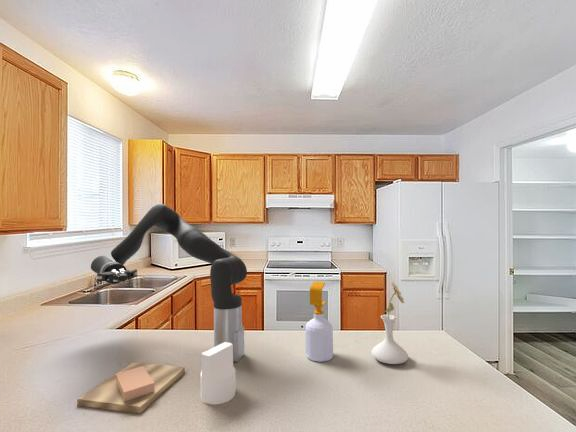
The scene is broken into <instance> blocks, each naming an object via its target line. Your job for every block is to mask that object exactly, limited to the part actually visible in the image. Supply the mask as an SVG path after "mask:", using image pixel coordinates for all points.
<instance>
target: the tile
mask: <svg viewBox="0 0 576 432" xmlns="http://www.w3.org/2000/svg"><path fill="white" fill-rule="evenodd" d="M115 374H116V384H117V386H118V388H119V391H120V393H121V395H122V398H123V400H124V402H127V401H130V400H133V399H136V398H139V397H142V396H145V395H148V394H151V393H154V381H153V380H152V378H151V377H150V375H149V374H148V372H147V371H146V369H145V368H144V366H141V367H137V368H134V369H130V370H127V371H123V372H120V373H118V372H116V373H115Z"/></svg>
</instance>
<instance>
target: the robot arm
mask: <svg viewBox="0 0 576 432" xmlns="http://www.w3.org/2000/svg"><path fill="white" fill-rule="evenodd" d="M154 226H155V227H156V228H158V229H161V230H162V231H164V232H166V233H169V234H170V235H171V236H173V237H174V238H175V239H176V242H177V244H178V245H179V247H180V248H181V249H182V250H183V251H185V252H186V253H187V254H188V255H190V256H191V257H192V258H194V259H197V260H200V261H203V262H206V263H208V264H211V266H210V273H209V275H210V277H209V278H210V280H209V281H210V292H211V299H212V302H213V341H214V342H213V346H214V347H216V346H218V345H220V344H222V343H224V342H228V343H232V344H233V363H234V362H235V363H239V361H240V360H241V359H242V358H243V357H244V355H245V327H244V326H243V317H242V316H243V315H242V314H243V310H242V306H243V305H242V304H243V301H242V297H241V295H239V294H236V293H233V290H232V285H233V286H234V285H236V284H239V283H241V282H243V281H244V280H245V279H246V277H247V275H248V271H247V270H248V268H247V266H246V264H245V262H244V260H242V259H241V258H240V257H238V256H236V255H235V254H233V253H231V252H229V251H228V250H226V249H225V248H223V247H221V246H220V244H218V243H216V242H215V241H214V240H213V239H211V238H210V237H209V236H207V234H205V233H203V232H202V231H201V230H200V229H198V228H197V227H196V226H193V225H191V224H189V223H187V221H186V220H184V219H183V218H182V216H181V215H180V214H178V212H177V211H176V210H174V209H172V208H171V207H169V206H168V205H166V204H164V203H156V204H155V205H153V206H152V207H151V208H150V209H149V210H148V211H147V212H146V214H145V215H144V216H143V217H142V218H141V219H140V221H139V222H138V223H137V224H136V226H135V227H134V228H133V230H131V232H130V233H129V234H128V235H126V237H125V238H124V239H123V240H122V241H121V242H120V243H118V245H116V246H115V247H114V248H113V249H112V250H111V252H110V256H111V257H112V259H113V260H114V261H113V260H112V259H110V258H109V257H108V256H105V255H99V256H97V257H95V258H94V259H93V260H92V262H91V264H90V270H92V272H94V273H95V274H96V282H106V283H108V284H109V285H119V284H121V283H125V282H126V281H128V280H131V279H135V278H137V277H138V269H136V268H135V269H133V270H132V269H127V267H126V266H125V264H126V262H127V261H129V259H131V257H133V256H134V255H135V254H136V253H137V252H138V251H139V250H140V249H141V246H142V245H143V240H144V238H145V235H146V234H147V232H148V231H149V230H150V229H151V228H153V227H154ZM214 347H213V348H214Z"/></svg>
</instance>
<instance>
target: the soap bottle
mask: <svg viewBox="0 0 576 432" xmlns="http://www.w3.org/2000/svg"><path fill="white" fill-rule="evenodd" d="M325 285H326V282H324V281H313V282H312V284H311V285H310V287H309V305H311V306H314V308H316V309H315V310H313V318H312V319H310V320H308V322H307V323H306V325H305V356H306V357H307V359H308V360H310V361H313V362H318V363H319V362H321V363H323V362H327V361H328V362H329V361H330V360H332V359H333V357H334V339H333V338H334V334H333V332H334V330H333V325H332V322H330V321H329V320H328V319H326V318H325V316H324V315H325V314H324V313H325V312H324V310H322V308H323V306H325V305H326V303H327V302H326V301H323V288H324V287H325Z"/></svg>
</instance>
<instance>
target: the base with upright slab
mask: <svg viewBox="0 0 576 432" xmlns="http://www.w3.org/2000/svg"><path fill="white" fill-rule="evenodd" d="M199 374H200V376H199V377H200V400H201V402H202V403H204V404H207V405H220V404H224V403H227V402H229V401H230V400H232V399H233V398H234V397H235V395H236V393H237V392H236V367H235V366H234V362H233V344H232V343H228V342H224V343H222V344H220V345H218V346H216V347H211V348H210V349H208V350H206V351H203V352H201V371H200V373H199Z"/></svg>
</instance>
